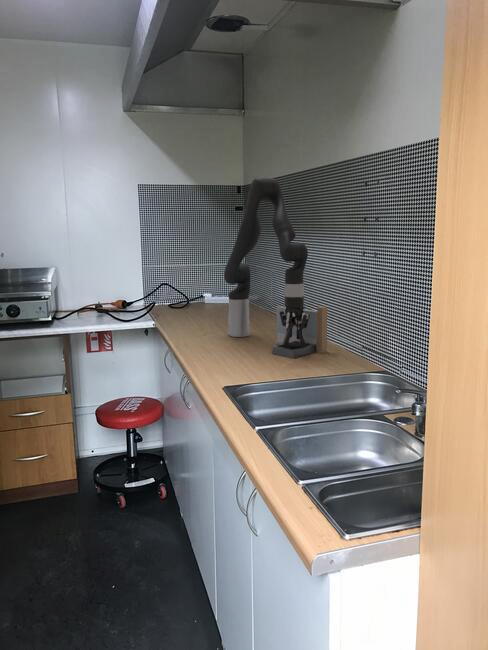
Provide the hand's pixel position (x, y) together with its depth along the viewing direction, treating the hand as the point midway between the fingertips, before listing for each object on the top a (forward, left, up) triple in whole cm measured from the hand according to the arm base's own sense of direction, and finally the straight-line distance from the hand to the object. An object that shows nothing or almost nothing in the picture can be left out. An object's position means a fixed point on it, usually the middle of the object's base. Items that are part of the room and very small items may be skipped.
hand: (294, 337), depth 209 cm
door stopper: (0, 0, -3) cm, 3 cm away
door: (-4, +8, -6) cm, 11 cm away
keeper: (0, 0, -6) cm, 6 cm away
